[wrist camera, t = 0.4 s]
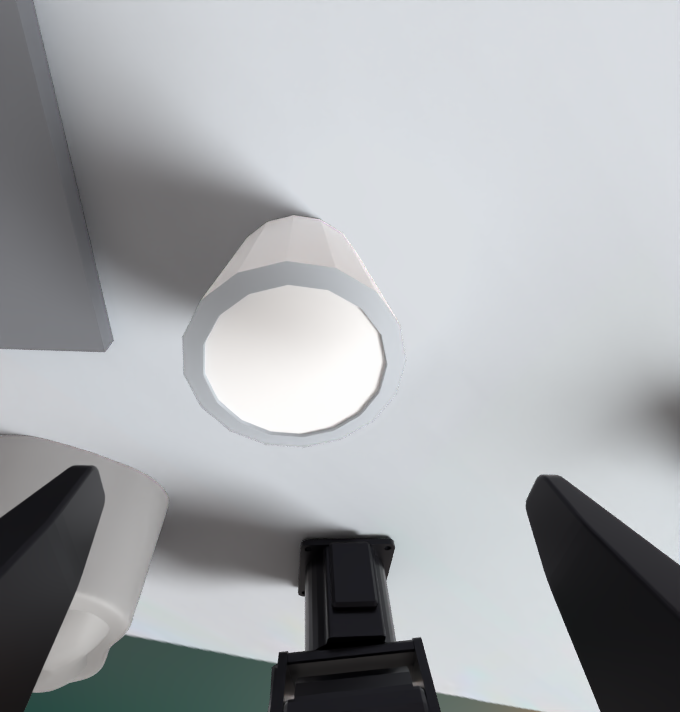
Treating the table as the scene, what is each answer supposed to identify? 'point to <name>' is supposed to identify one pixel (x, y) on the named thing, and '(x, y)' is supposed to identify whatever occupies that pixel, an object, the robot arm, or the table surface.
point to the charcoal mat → (41, 207)
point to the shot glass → (294, 339)
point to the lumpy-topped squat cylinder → (91, 550)
